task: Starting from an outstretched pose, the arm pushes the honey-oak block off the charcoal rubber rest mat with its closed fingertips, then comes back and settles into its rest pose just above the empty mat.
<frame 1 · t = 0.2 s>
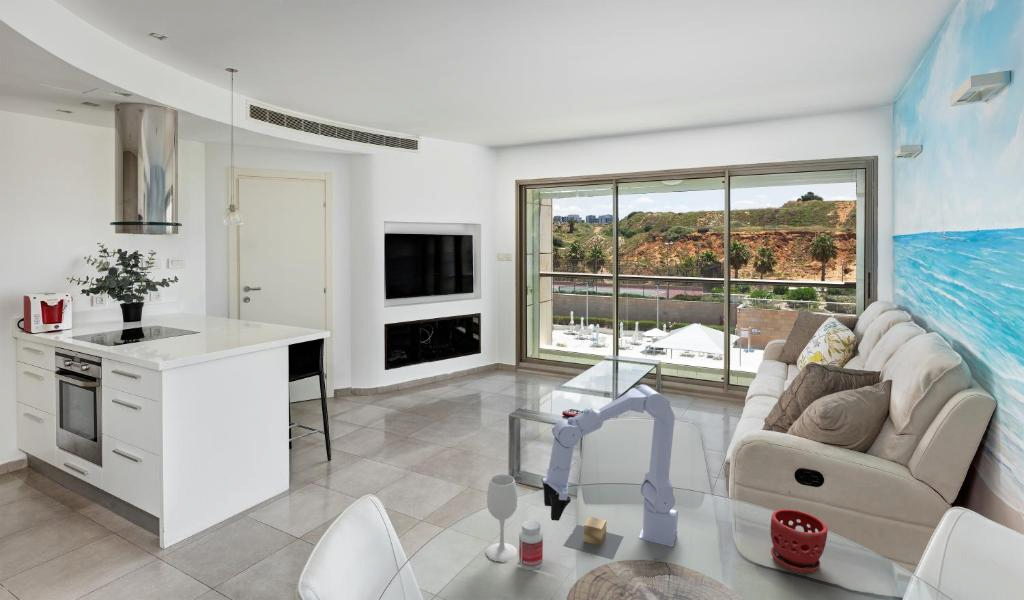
hand: (551, 512, 148), 10 cm above the table, tool pointing down, fingers open, 7 cm apart
wineglass: (501, 553, 147), on the table
plant pot: (795, 563, 144), on the table
oak block: (594, 539, 153), resting on rest mat
rest mat: (593, 542, 152), on the table
pill bottle: (530, 564, 142), on the table
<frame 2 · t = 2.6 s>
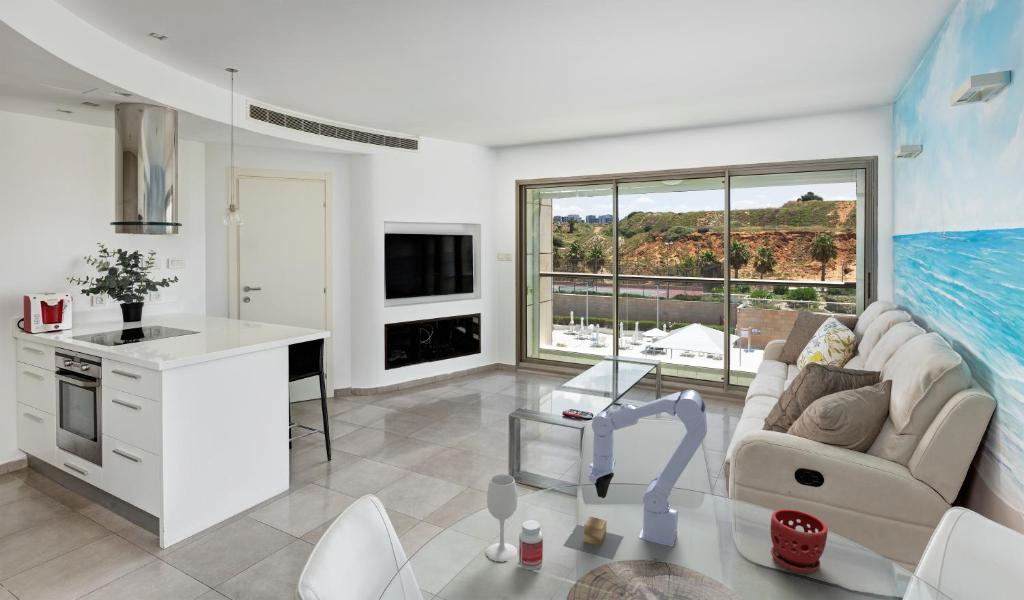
hand: (601, 496, 161), 8 cm above the table, tool pointing down, fingers closed
nothing on the table moved.
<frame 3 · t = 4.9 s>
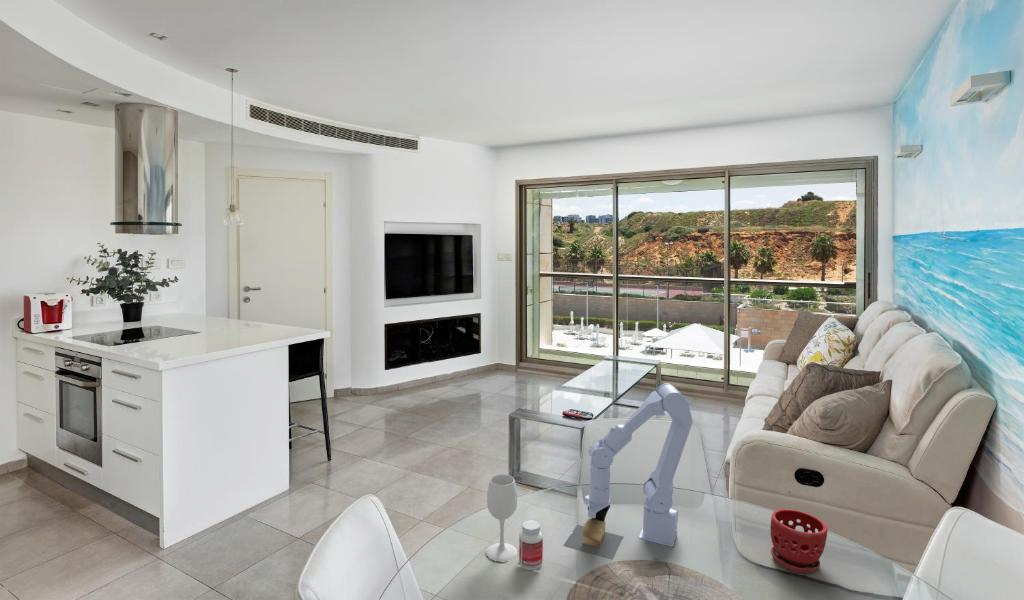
hand: (598, 529, 156), 2 cm above the table, tool pointing down, fingers closed
oak block: (593, 540, 152), resting on rest mat, touching gripper
everything else where it was.
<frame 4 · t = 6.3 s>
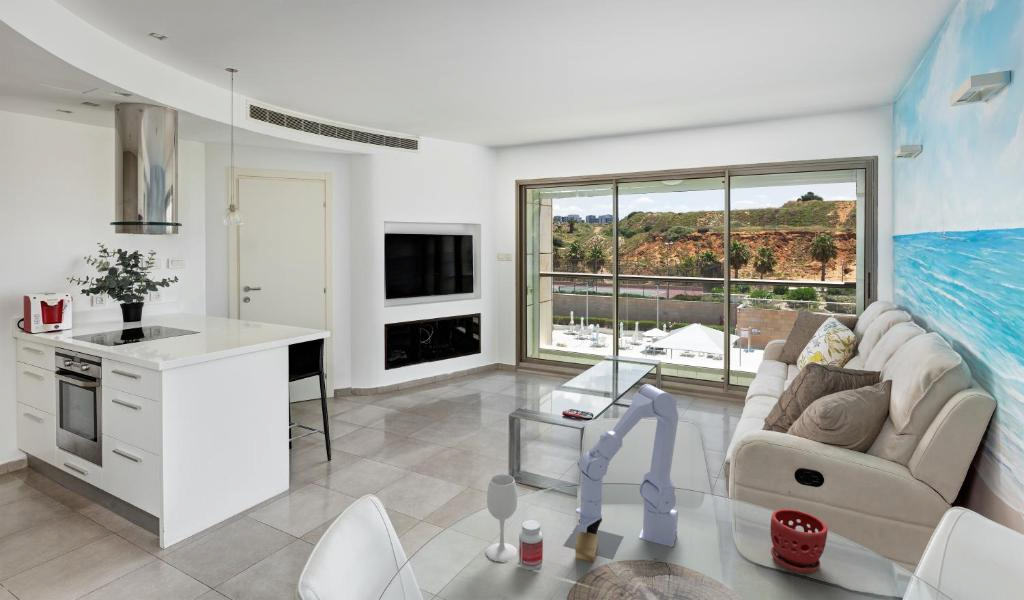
hand: (589, 543, 148), 2 cm above the table, tool pointing down, fingers closed, pressing on oak block
oak block: (587, 554, 146), point 1 cm above the table, tilted 12°, touching gripper
everything else where it was.
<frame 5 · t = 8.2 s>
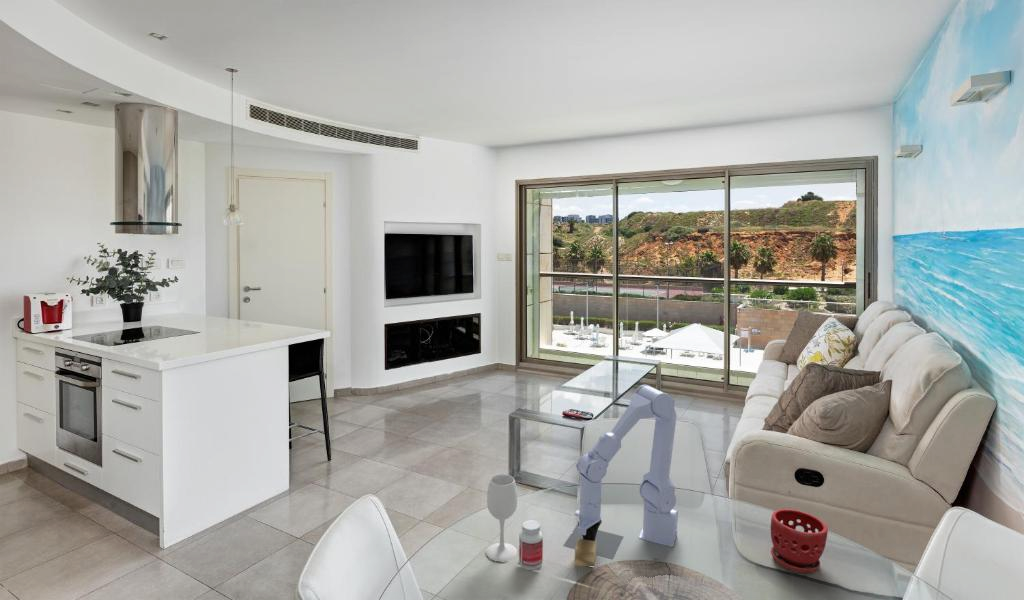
hand: (589, 546, 148), 2 cm above the table, tool pointing down, fingers closed
oak block: (585, 562, 143), on the table
everything else where it was.
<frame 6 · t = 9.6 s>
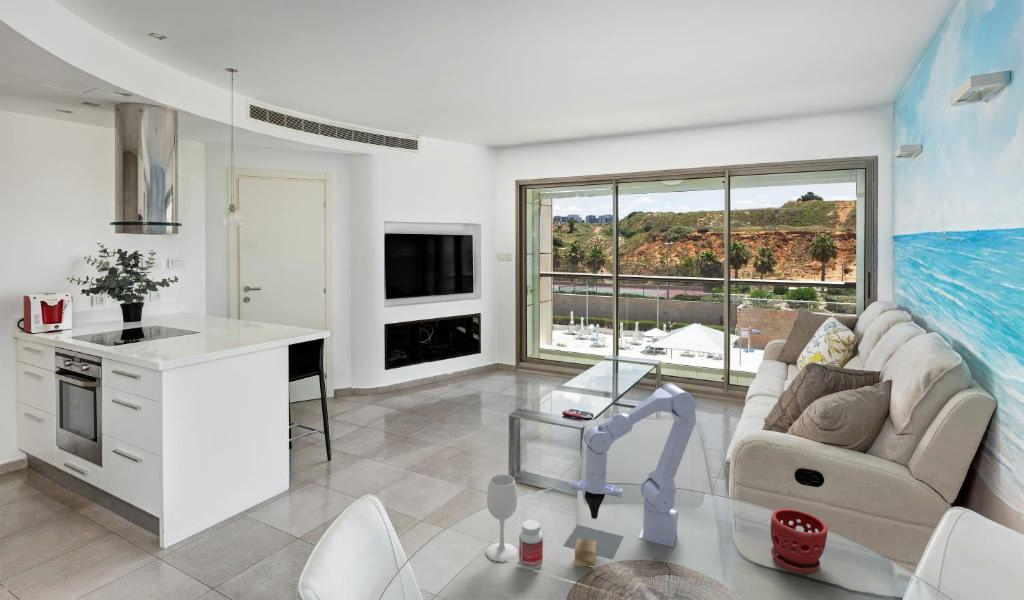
hand: (594, 517, 151), 8 cm above the table, tool pointing down, fingers closed
nothing on the table moved.
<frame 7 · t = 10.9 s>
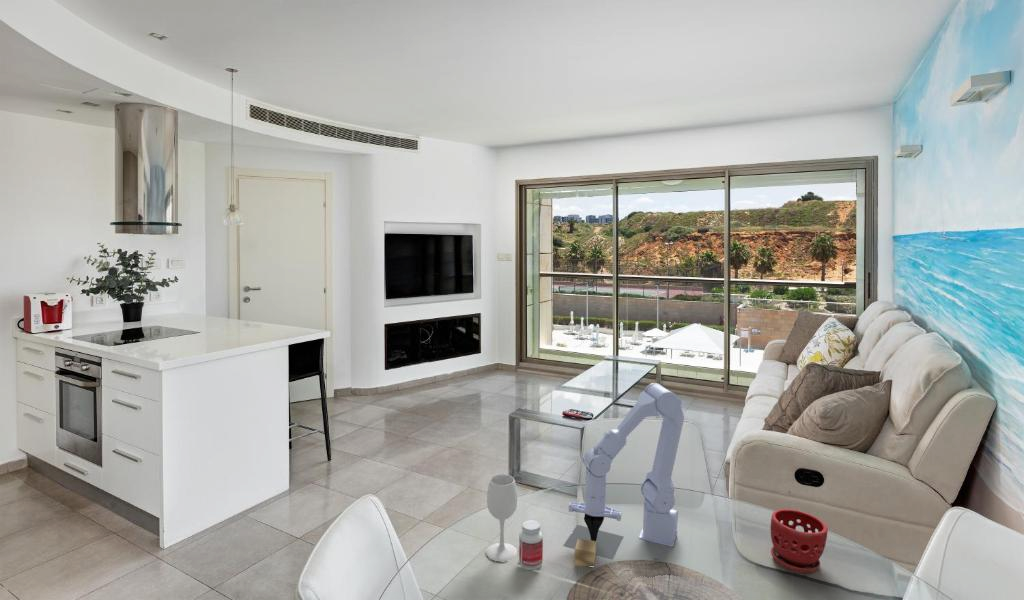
hand: (593, 538, 152), 1 cm above the table, tool pointing down, fingers closed
nothing on the table moved.
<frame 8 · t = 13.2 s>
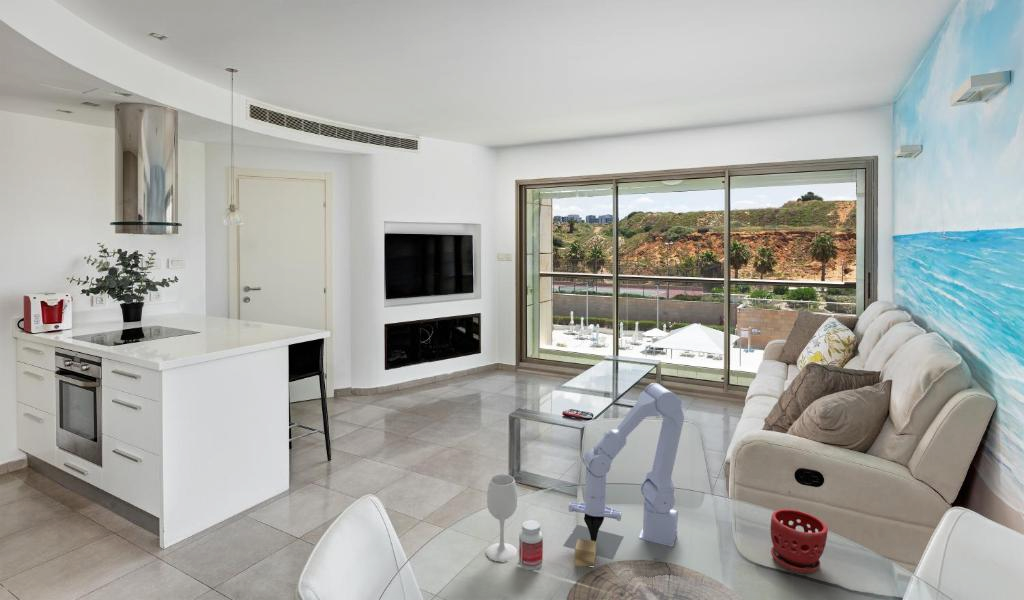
hand: (593, 538, 152), 1 cm above the table, tool pointing down, fingers closed
nothing on the table moved.
at the end: oak block inside the target area (4.6 cm from its centre), on the table; oak block tilted 0°; oak block touching table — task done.
